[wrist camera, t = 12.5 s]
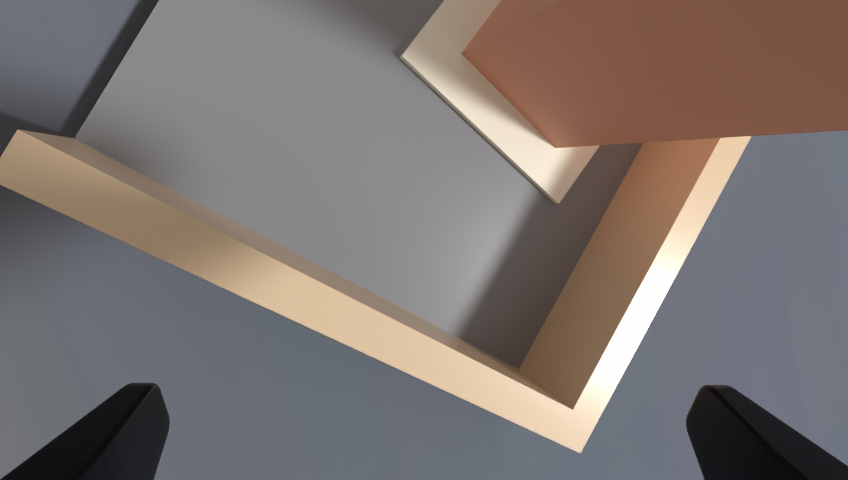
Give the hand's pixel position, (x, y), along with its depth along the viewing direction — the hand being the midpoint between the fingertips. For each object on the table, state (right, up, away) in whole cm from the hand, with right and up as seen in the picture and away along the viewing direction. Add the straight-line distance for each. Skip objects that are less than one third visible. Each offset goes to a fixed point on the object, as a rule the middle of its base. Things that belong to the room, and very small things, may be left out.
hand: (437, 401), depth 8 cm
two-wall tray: (+1, +8, +9) cm, 12 cm away
